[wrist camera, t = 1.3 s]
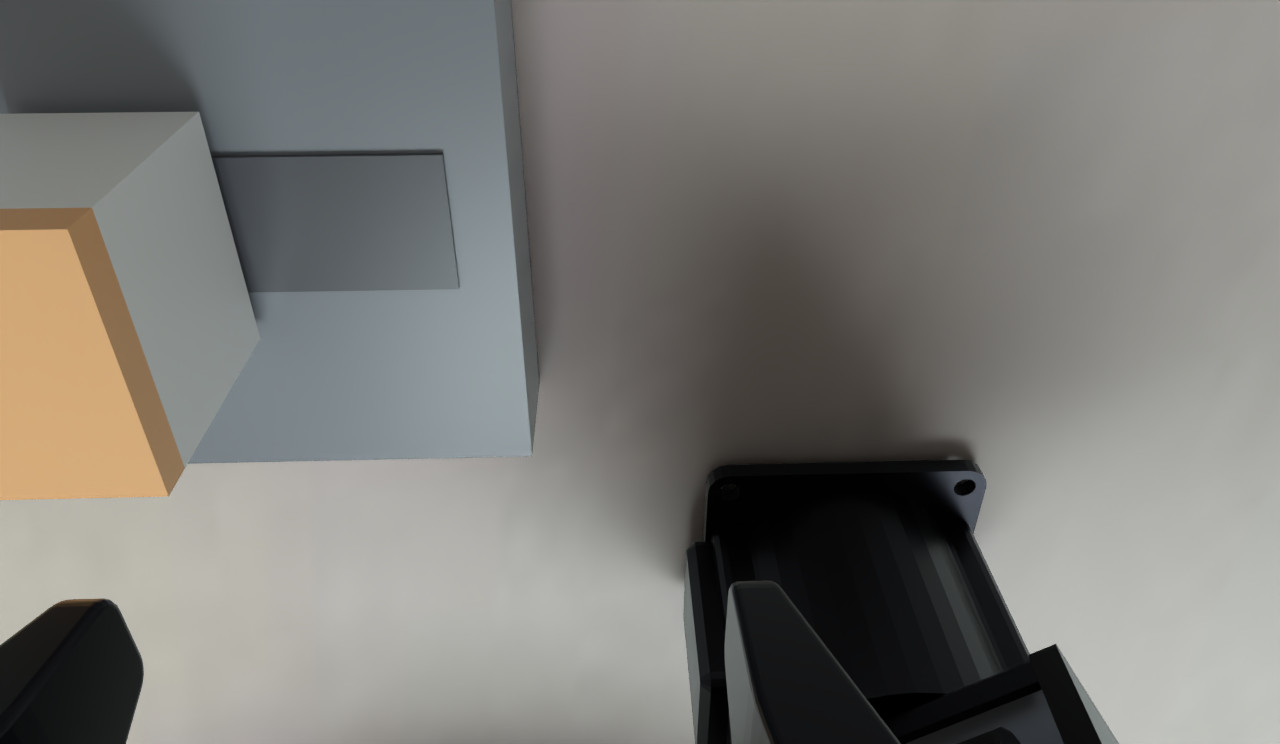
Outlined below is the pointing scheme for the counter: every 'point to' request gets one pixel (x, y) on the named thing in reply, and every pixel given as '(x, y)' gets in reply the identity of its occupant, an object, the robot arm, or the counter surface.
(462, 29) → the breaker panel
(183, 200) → the breaker toggle
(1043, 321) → the counter surface
